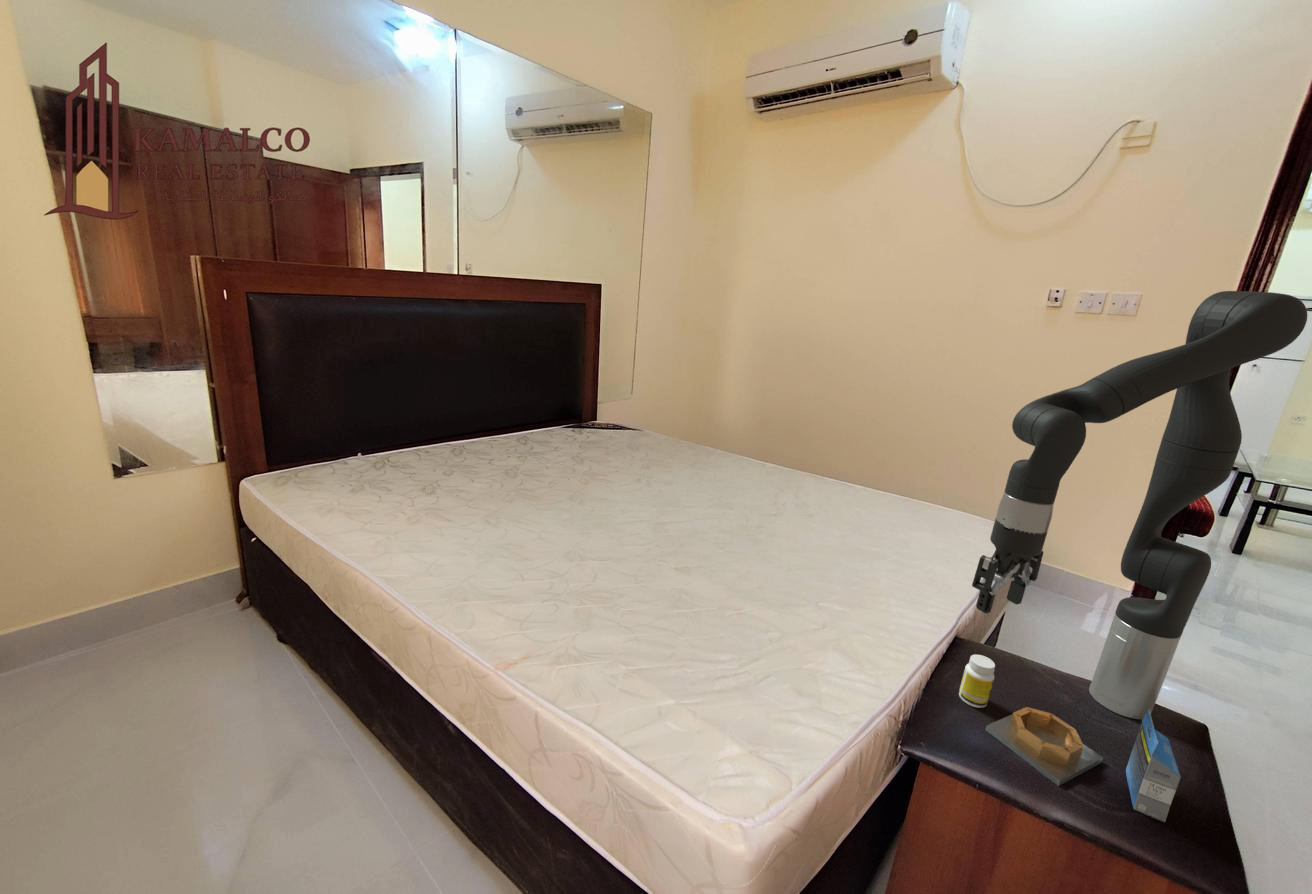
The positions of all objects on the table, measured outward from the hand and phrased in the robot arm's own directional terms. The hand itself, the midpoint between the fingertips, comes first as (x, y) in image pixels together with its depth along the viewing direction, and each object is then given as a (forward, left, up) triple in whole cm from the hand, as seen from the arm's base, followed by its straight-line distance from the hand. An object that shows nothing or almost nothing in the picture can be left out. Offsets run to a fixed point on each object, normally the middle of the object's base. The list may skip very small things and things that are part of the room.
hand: (998, 606), depth 97 cm
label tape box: (-6, +24, -20) cm, 32 cm away
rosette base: (-1, +12, -20) cm, 23 cm away
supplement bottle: (0, 0, -20) cm, 20 cm away
